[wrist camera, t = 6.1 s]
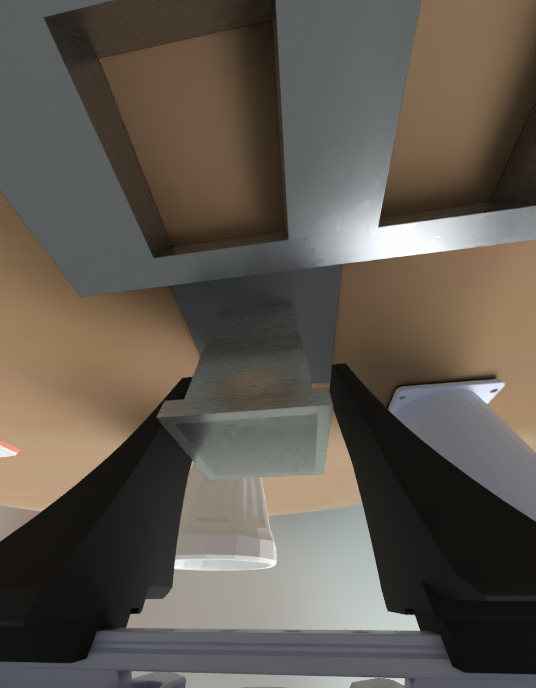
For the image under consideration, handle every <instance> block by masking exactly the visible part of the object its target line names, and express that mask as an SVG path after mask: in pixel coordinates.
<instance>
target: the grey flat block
mask: <svg viewBox="0 0 536 688" xmlns="http://www.w3.org/2000/svg"><path fill="white" fill-rule="evenodd" d="M420 4H421V0H0V191H1V193H2V194H3V195H4V197H5V198H6V199H7V201H8V202H9V203H10V205H11V206H12V207H13V208H14V210H15V211H16V212H17V214H18V215H19V216H20V218H21V219H22V220H23V222H24V223H25V224H26V226H27V227H28V228H29V230H30V231H31V232H32V233H33V235H34V236H35V237H36V239H37V240H38V241H39V243H40V244H41V245H42V247H43V248H44V249H45V251H46V252H47V253H48V254H49V256H50V257H51V258H52V260H53V261H54V262H55V264H56V265H57V266H58V268H59V269H60V270H61V272H62V273H63V274H64V275H65V277H66V278H67V279H68V281H69V282H70V283H71V285H72V286H73V287H74V289H75V290H76V291H77V293H78V294H79V295H80V297H83V296H91V295H99V294H107V293H115V292H123V291H130V290H138V289H146V288H154V287H162V286H170V285H178V284H186V283H194V282H202V281H210V280H218V279H226V278H234V277H242V276H250V275H258V274H266V273H274V272H282V271H290V270H298V269H306V268H313V267H321V266H329V265H337V264H345V263H353V262H361V261H369V260H377V259H385V258H393V257H401V256H409V255H417V254H425V253H433V252H441V251H449V250H457V249H465V248H473V247H481V246H489V245H496V244H504V243H512V242H520V241H528V240H536V104H535V106H534V108H533V111H532V113H531V115H530V117H529V119H528V121H527V123H526V126H525V128H524V130H523V132H522V134H521V136H520V139H519V141H518V143H517V145H516V147H515V149H514V152H513V154H512V156H511V158H510V160H509V162H508V165H507V167H506V169H505V171H504V173H503V175H502V177H501V180H500V182H499V184H498V186H497V188H496V190H495V193H494V195H493V197H492V199H491V201H490V202H486V203H479V204H471V205H464V206H457V207H450V208H443V209H436V210H429V211H422V212H415V213H408V214H400V215H393V216H386V217H380V214H381V209H382V203H383V198H384V193H385V188H386V182H387V177H388V172H389V167H390V161H391V156H392V151H393V146H394V140H395V135H396V130H397V125H398V119H399V114H400V109H401V103H402V98H403V93H404V88H405V82H406V77H407V72H408V67H409V61H410V56H411V51H412V46H413V40H414V35H415V30H416V25H417V19H418V14H419V9H420ZM269 20H272V29H273V45H274V61H275V77H276V92H277V108H278V124H279V140H280V156H281V172H282V188H283V204H284V220H285V231H280V232H273V233H266V234H258V235H251V236H244V237H237V238H230V239H223V240H216V241H209V242H202V243H195V244H187V245H180V246H173V247H172V246H171V243H170V241H169V238H168V236H167V233H166V231H165V228H164V226H163V223H162V220H161V218H160V215H159V213H158V210H157V208H156V205H155V203H154V200H153V197H152V195H151V192H150V190H149V187H148V185H147V182H146V180H145V177H144V174H143V172H142V169H141V167H140V164H139V162H138V159H137V156H136V154H135V151H134V149H133V146H132V144H131V141H130V139H129V136H128V133H127V131H126V128H125V126H124V123H123V121H122V118H121V116H120V113H119V110H118V108H117V105H116V103H115V100H114V98H113V95H112V93H111V90H110V87H109V85H108V82H107V80H106V77H105V75H104V72H103V69H102V67H101V64H100V62H99V59H98V58H102V57H106V56H111V55H115V54H120V53H124V52H129V51H133V50H138V49H142V48H147V47H152V46H156V45H161V44H165V43H170V42H174V41H179V40H183V39H188V38H192V37H197V36H201V35H206V34H210V33H215V32H219V31H224V30H228V29H233V28H237V27H242V26H246V25H251V24H255V23H260V22H265V21H269Z"/></svg>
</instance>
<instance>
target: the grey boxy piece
mask: <svg viewBox="0 0 536 688" xmlns="http://www.w3.org/2000/svg"><path fill="white" fill-rule="evenodd" d="M332 408H333V403H332V400H331V397H330V393H329V390H328V388H319V389H312V384H311V380H310V375H309V371H308V366H307V362H306V357H305V353H304V348H303V344H302V339H301V335H300V330H299V325H298V321H297V316H296V312H295V307H294V303H293V304H284V305H275V306H266V307H257V308H248V309H239V310H231V311H222V312H218V314H217V316H216V319H215V321H214V324H213V326H212V329H211V332H210V334H209V337H208V339H207V342H206V344H205V347H204V350H203V352H202V355H201V357H200V360H199V363H198V365H197V368H196V370H195V373H194V375H193V378H192V381H191V383H190V386H189V388H188V391H187V393H186V396H185V399H182V400H169V401H164V403H163V405H162V407H161V409H160V411H159V413H158V415H157V417H156V418H157V419H158V420H159V422H160V423H161V424H162V425H163V426H164V427H165V429H166V430H167V431H168V432H169V433H170V434H171V436H172V437H173V438H174V439H175V440H176V441H177V443H178V444H179V445H180V446H181V447H182V448H183V450H184V451H185V452H186V453H187V454H188V455H189V457H190V458H191V459H192V460H193V461H194V463H195V464H196V465H197V466H198V467H199V468H200V470H201V471H202V472H203V473H204V474H205V475H206V477H207V478H208V479H209V480H216V479H237V478H257V477H278V476H299V475H319V474H324V469H325V462H326V454H327V446H328V439H329V431H330V423H331V416H332Z"/></svg>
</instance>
